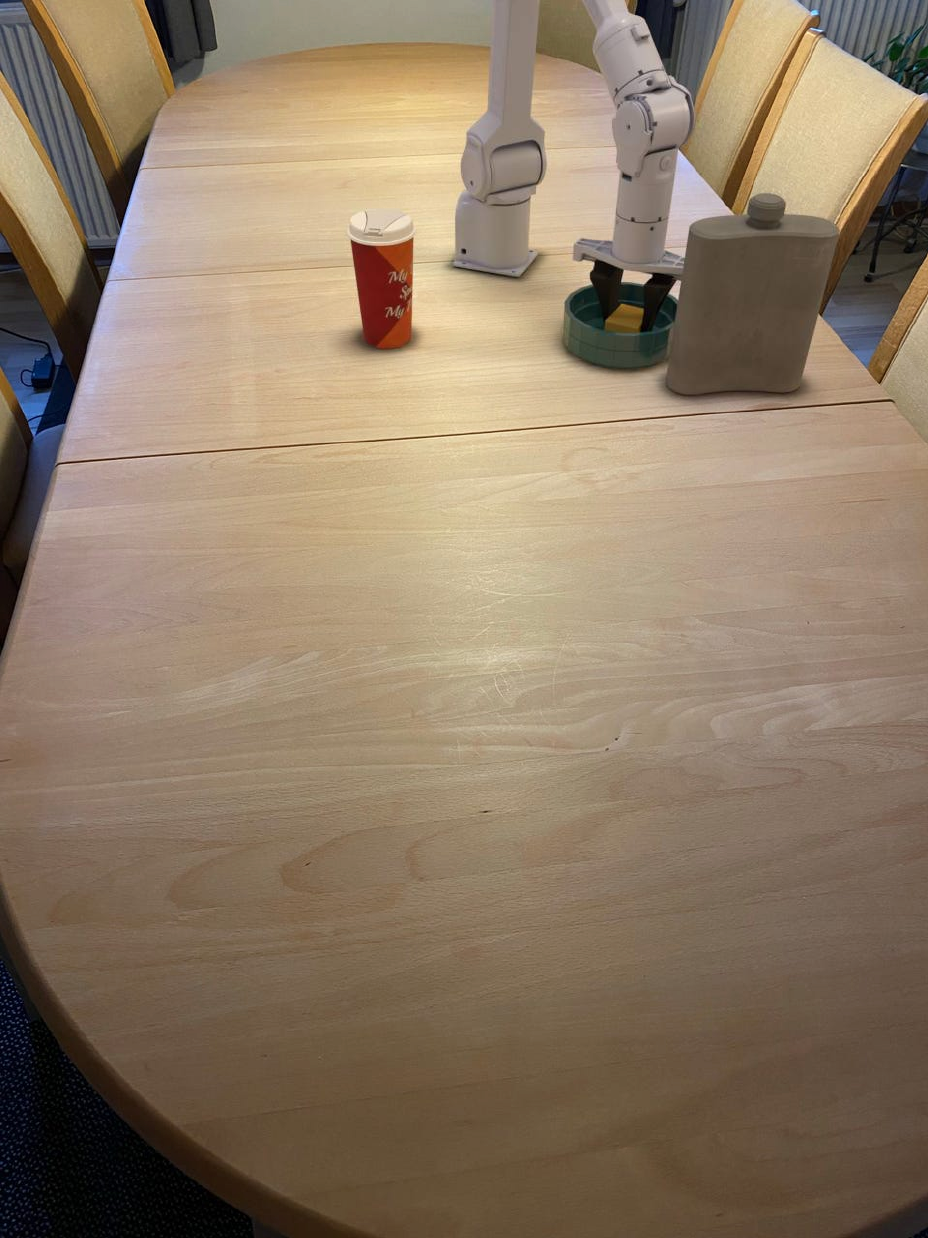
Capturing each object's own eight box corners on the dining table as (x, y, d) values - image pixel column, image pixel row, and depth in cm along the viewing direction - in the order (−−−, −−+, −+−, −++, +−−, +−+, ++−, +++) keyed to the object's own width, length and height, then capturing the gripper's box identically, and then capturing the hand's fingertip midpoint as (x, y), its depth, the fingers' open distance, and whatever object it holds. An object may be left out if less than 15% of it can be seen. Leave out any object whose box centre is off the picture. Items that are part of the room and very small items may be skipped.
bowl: (546, 358, 114) (548, 322, 111) (581, 308, 124) (584, 273, 121) (662, 381, 111) (667, 344, 108) (689, 328, 120) (695, 292, 117)
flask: (790, 367, 113) (834, 186, 99) (805, 393, 109) (854, 208, 95) (659, 370, 112) (686, 189, 99) (670, 396, 108) (699, 211, 95)
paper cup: (411, 355, 115) (406, 235, 105) (347, 349, 116) (336, 230, 107) (426, 324, 121) (423, 208, 111) (365, 319, 122) (357, 203, 112)
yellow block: (602, 344, 116) (604, 320, 114) (618, 326, 119) (621, 303, 117) (634, 352, 114) (637, 328, 112) (650, 334, 118) (653, 310, 115)
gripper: (719, 212, 106) (698, 330, 116) (594, 188, 112) (584, 303, 121) (698, 235, 102) (678, 356, 111) (568, 209, 107) (560, 327, 116)
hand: (628, 330), depth 116 cm, fingers closed on yellow block, 4 cm apart
